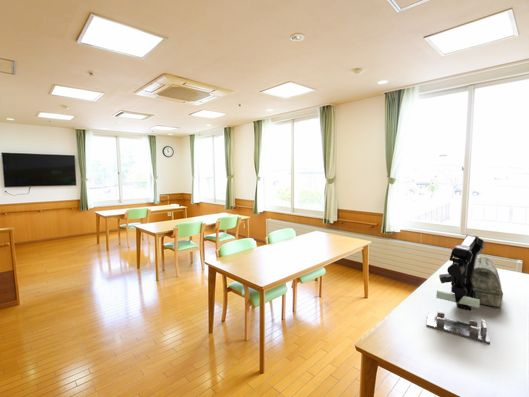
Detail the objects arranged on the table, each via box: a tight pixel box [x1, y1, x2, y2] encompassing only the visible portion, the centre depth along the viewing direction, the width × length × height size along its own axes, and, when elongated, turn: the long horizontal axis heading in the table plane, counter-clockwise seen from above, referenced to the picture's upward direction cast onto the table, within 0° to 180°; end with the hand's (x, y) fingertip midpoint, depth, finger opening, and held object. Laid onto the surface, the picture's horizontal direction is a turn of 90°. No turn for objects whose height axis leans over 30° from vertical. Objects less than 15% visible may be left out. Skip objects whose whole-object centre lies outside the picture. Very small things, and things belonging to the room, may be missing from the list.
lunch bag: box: [472, 255, 504, 308], centre depth 161 cm, size 26×18×22 cm
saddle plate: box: [426, 311, 491, 345], centre depth 131 cm, size 12×24×6 cm, turn 56°
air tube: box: [435, 290, 480, 309], centre depth 141 cm, size 4×18×4 cm, turn 56°
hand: (456, 300), depth 141 cm, fingers closed on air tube, 4 cm apart
